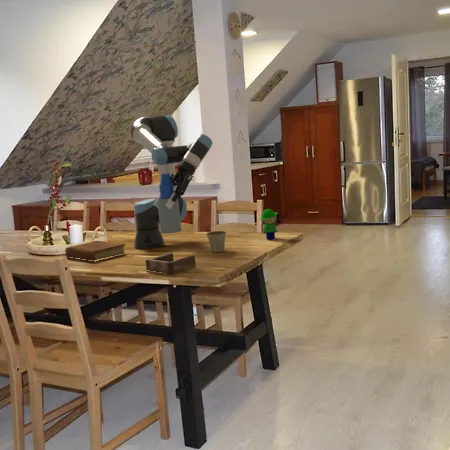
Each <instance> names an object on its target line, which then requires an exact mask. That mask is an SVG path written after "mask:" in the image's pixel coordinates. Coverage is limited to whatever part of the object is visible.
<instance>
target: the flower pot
mask: <svg viewBox="0 0 450 450" xmlns="http://www.w3.org/2000/svg"><path fill="white" fill-rule="evenodd" d="M206 236H207V238H208V242H209V247H210V252H212V253H217V252H219V253H222V252H224V251H225V244H226V236H227V231H224V230H217V231H215V230H213V231H210V232H207V233H206Z"/></svg>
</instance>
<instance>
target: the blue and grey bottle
mask: <svg viewBox="0 0 450 450" xmlns="http://www.w3.org/2000/svg"><path fill="white" fill-rule="evenodd" d="M158 187H159V190H160V191H159V195H160V198H159V199H158V201H157V203H158V212H159V221H160V224H159V230H160V232H161V234H164V235H165V234H175V233H179V232H182V222H181V221H182V220H180V212H179V202H178V198H177V200H176V201H175V203H174V204H173V206H172V208H171V209H169V208H167V207H166V206H165V205H166V203H167V202H168V200H169V199H170V197H171V195H172V194H173V193H174V187H173V183H171V179H170V174H169V173H166V174H161V184H160V183H159V184H158Z"/></svg>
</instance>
